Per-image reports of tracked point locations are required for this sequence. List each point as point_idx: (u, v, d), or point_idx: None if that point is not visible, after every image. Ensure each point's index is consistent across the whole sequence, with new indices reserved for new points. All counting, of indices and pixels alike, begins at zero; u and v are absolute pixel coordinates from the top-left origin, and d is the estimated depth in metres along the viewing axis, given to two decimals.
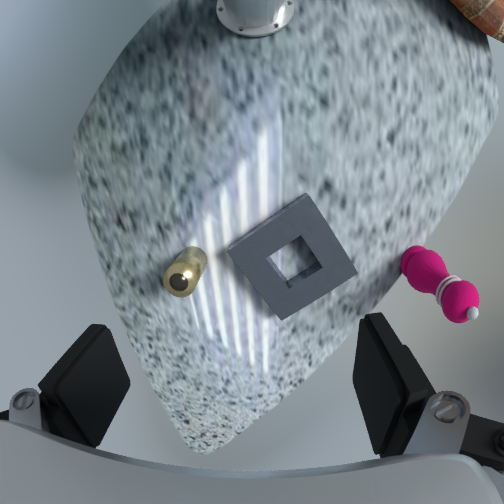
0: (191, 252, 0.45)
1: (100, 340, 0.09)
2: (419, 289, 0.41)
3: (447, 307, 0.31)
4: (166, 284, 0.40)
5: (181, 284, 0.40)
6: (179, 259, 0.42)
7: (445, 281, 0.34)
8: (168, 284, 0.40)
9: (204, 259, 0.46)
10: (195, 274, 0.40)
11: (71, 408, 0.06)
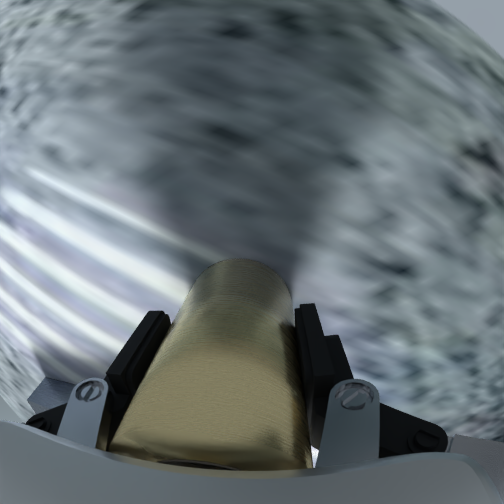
0: None
1: (162, 326, 0.10)
2: None
3: None
4: (229, 452, 0.04)
5: None
6: None
7: None
8: (221, 456, 0.04)
9: None
10: None
11: None
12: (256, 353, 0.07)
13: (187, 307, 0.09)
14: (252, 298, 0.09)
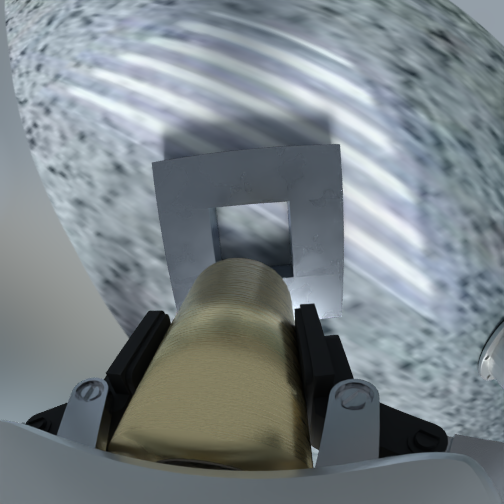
0: None
1: (162, 325, 0.10)
2: None
3: None
4: (228, 452, 0.04)
5: None
6: None
7: None
8: (220, 455, 0.04)
9: None
10: None
11: None
12: (256, 352, 0.07)
13: (187, 306, 0.09)
14: (252, 298, 0.09)
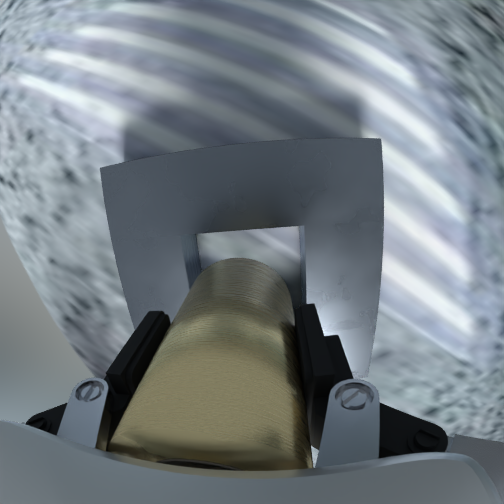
0: None
1: (162, 325, 0.10)
2: None
3: None
4: (228, 452, 0.04)
5: None
6: None
7: None
8: (220, 455, 0.04)
9: None
10: None
11: None
12: (256, 352, 0.07)
13: (187, 306, 0.09)
14: (252, 298, 0.09)
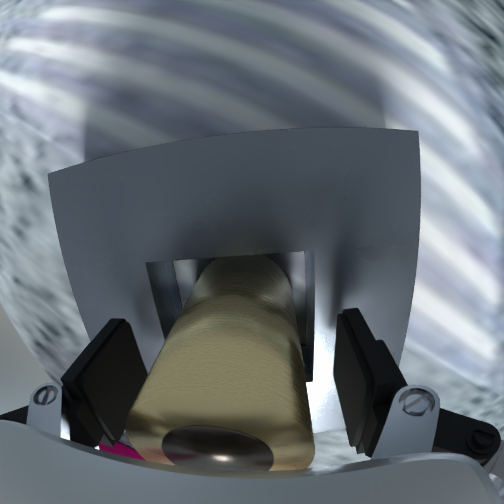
0: None
1: (121, 334, 0.09)
2: None
3: None
4: (238, 415, 0.05)
5: (199, 460, 0.06)
6: None
7: None
8: (231, 419, 0.05)
9: None
10: None
11: (94, 402, 0.07)
12: (261, 331, 0.08)
13: (196, 294, 0.10)
14: (256, 286, 0.10)
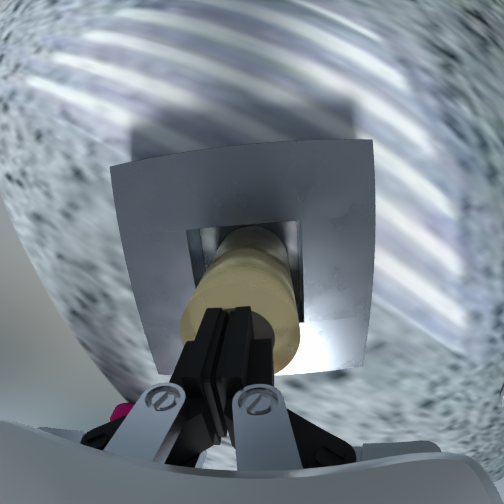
0: None
1: (224, 323, 0.10)
2: None
3: None
4: (254, 297, 0.10)
5: None
6: None
7: None
8: (250, 301, 0.10)
9: None
10: None
11: (214, 397, 0.07)
12: (266, 263, 0.13)
13: (222, 249, 0.16)
14: (262, 243, 0.15)
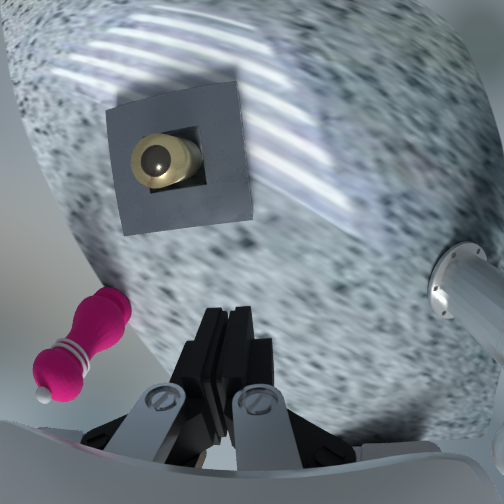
0: (192, 173, 0.29)
1: (224, 322, 0.10)
2: (80, 310, 0.30)
3: (53, 360, 0.21)
4: (161, 138, 0.22)
5: (150, 163, 0.23)
6: (188, 166, 0.26)
7: (84, 359, 0.25)
8: (159, 141, 0.22)
9: None
10: None
11: (214, 397, 0.07)
12: None
13: None
14: None
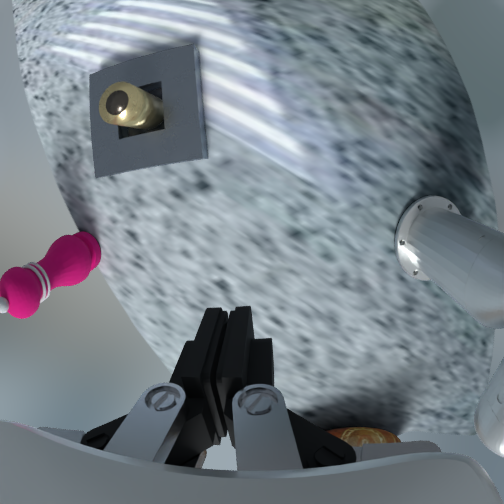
0: (153, 120, 0.31)
1: (224, 323, 0.10)
2: (52, 245, 0.32)
3: (15, 273, 0.23)
4: (122, 85, 0.24)
5: (112, 104, 0.24)
6: (146, 109, 0.27)
7: (45, 280, 0.27)
8: (121, 87, 0.24)
9: None
10: None
11: (214, 397, 0.07)
12: None
13: None
14: None
